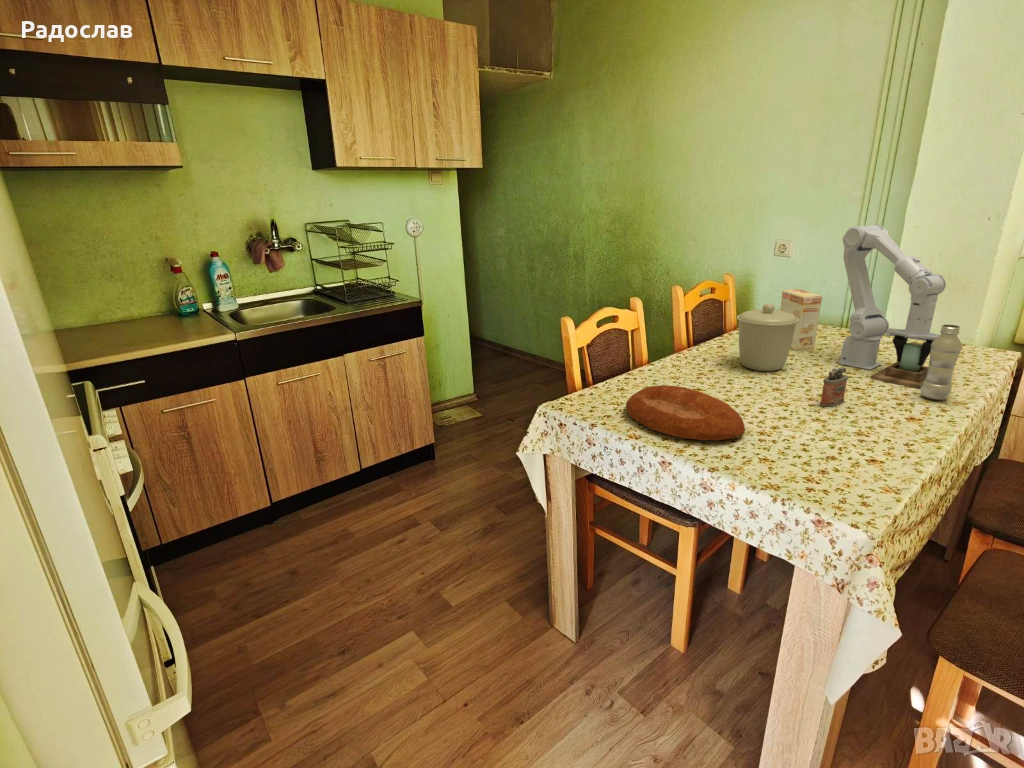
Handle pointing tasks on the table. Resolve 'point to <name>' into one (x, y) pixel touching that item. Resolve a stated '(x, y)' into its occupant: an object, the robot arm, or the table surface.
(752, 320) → the canister
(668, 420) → the bread
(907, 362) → the roll
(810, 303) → the coffeecake box
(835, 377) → the lighter
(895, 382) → the brown piece
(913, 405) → the table surface
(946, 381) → the plastic bottle
